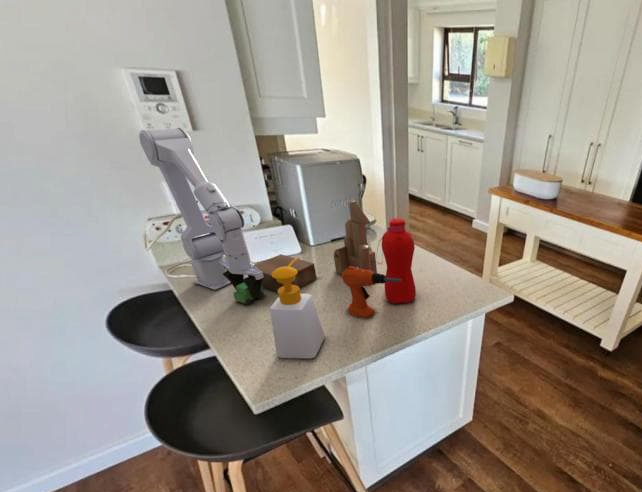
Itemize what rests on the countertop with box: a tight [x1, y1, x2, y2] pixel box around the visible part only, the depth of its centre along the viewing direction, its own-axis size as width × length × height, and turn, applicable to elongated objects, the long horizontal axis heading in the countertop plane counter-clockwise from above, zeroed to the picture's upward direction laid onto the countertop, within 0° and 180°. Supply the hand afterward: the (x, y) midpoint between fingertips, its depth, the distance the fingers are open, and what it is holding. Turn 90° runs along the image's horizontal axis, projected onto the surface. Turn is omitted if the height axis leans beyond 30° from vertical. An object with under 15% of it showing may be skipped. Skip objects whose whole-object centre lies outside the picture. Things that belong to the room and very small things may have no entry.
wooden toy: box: [333, 200, 378, 276], centre depth 119 cm, size 16×7×25 cm, turn 57°
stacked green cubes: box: [233, 283, 265, 306], centre depth 108 cm, size 7×4×5 cm, turn 155°
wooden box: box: [261, 265, 317, 293], centre depth 119 cm, size 13×15×5 cm
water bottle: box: [376, 217, 417, 304], centre depth 108 cm, size 9×11×25 cm
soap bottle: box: [269, 256, 326, 359], centre depth 88 cm, size 10×14×22 cm
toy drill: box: [341, 266, 402, 319], centre depth 101 cm, size 5×19×15 cm, turn 71°
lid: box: [254, 254, 315, 278], centre depth 117 cm, size 13×15×1 cm
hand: (249, 294), depth 109 cm, fingers open, 6 cm apart
